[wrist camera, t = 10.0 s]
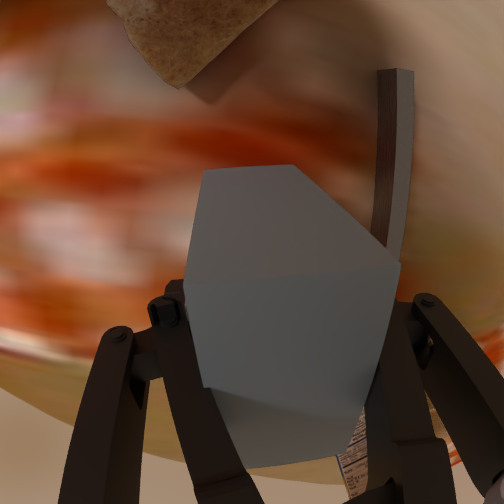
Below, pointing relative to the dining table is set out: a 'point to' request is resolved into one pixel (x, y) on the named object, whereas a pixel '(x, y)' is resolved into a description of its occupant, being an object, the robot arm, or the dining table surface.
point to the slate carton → (285, 311)
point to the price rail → (393, 157)
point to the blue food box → (355, 461)
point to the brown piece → (185, 31)
